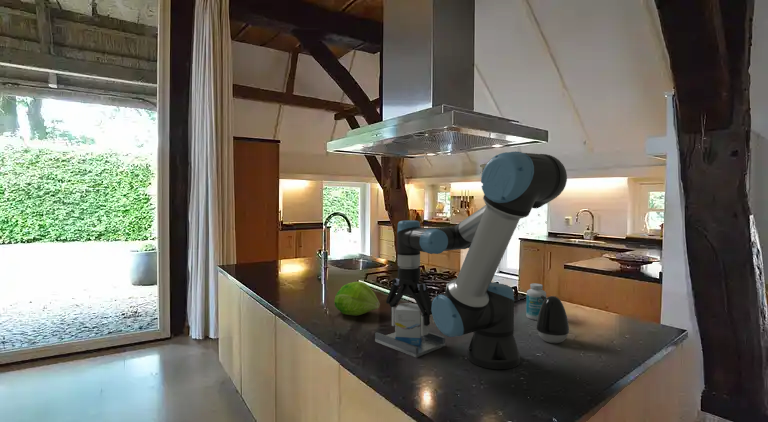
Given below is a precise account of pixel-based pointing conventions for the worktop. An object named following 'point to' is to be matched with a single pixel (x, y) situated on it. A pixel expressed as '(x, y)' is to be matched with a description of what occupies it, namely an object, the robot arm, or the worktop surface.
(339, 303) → the lettuce
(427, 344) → the rail board
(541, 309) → the black rounded dome
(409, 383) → the worktop surface
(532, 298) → the pill bottle
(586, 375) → the worktop surface
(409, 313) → the ink box
